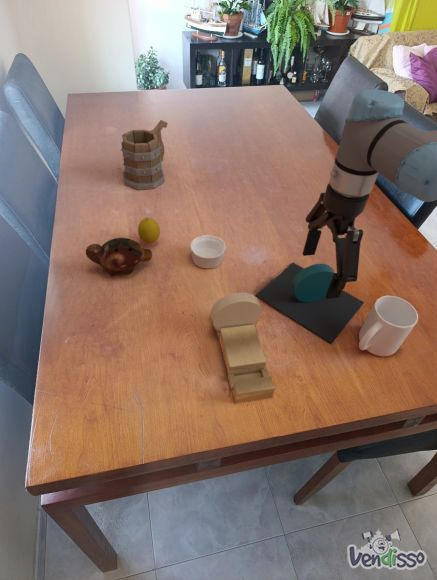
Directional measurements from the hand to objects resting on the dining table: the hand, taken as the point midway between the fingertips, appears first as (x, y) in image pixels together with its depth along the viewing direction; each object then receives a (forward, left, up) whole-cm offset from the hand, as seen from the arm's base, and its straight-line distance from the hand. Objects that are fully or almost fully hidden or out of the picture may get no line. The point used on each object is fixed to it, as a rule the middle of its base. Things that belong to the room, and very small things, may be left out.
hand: (319, 274), depth 81 cm
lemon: (+42, +12, -9) cm, 45 cm away
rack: (+2, +24, -9) cm, 25 cm away
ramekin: (+27, +6, -9) cm, 29 cm away
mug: (-16, +2, -9) cm, 19 cm away
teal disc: (0, 0, -3) cm, 3 cm away
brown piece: (+40, +23, -9) cm, 47 cm away
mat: (0, 0, -9) cm, 9 cm away
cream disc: (+7, +20, -1) cm, 21 cm away
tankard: (+68, -12, -9) cm, 70 cm away
